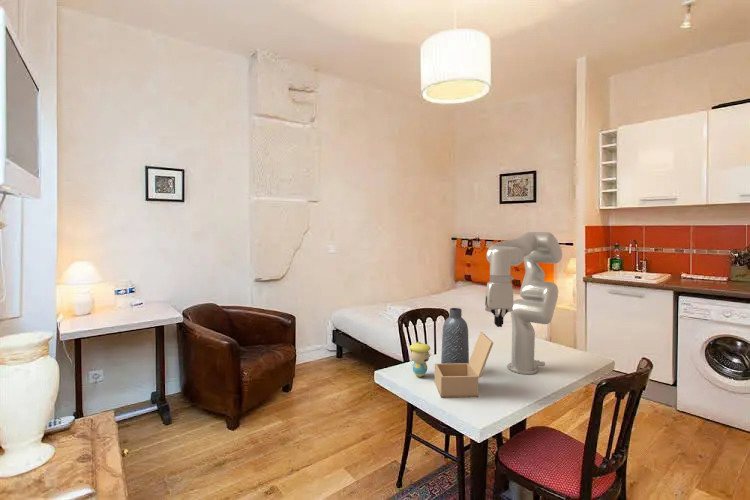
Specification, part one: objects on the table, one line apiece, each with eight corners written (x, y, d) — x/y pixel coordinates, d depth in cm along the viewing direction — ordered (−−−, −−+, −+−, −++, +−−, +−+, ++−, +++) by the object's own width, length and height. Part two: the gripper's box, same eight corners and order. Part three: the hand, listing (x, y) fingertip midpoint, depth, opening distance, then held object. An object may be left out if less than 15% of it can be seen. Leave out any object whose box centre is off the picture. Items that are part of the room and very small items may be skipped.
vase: (474, 371, 173) (475, 308, 171) (459, 379, 164) (460, 313, 162) (450, 365, 181) (451, 304, 179) (435, 372, 173) (435, 309, 171)
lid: (468, 363, 161) (470, 363, 161) (478, 376, 147) (480, 377, 147) (480, 331, 161) (482, 332, 161) (491, 342, 147) (494, 342, 147)
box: (468, 382, 162) (468, 363, 161) (478, 397, 148) (478, 376, 147) (434, 382, 162) (434, 363, 161) (441, 397, 148) (441, 377, 147)
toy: (425, 381, 163) (426, 346, 162) (406, 377, 168) (406, 342, 166) (433, 375, 169) (433, 341, 168) (414, 371, 174) (414, 338, 173)
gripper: (515, 278, 156) (513, 323, 157) (477, 278, 156) (477, 323, 157) (522, 281, 148) (521, 328, 150) (483, 280, 148) (482, 328, 149)
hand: (498, 326), depth 153 cm, fingers closed
